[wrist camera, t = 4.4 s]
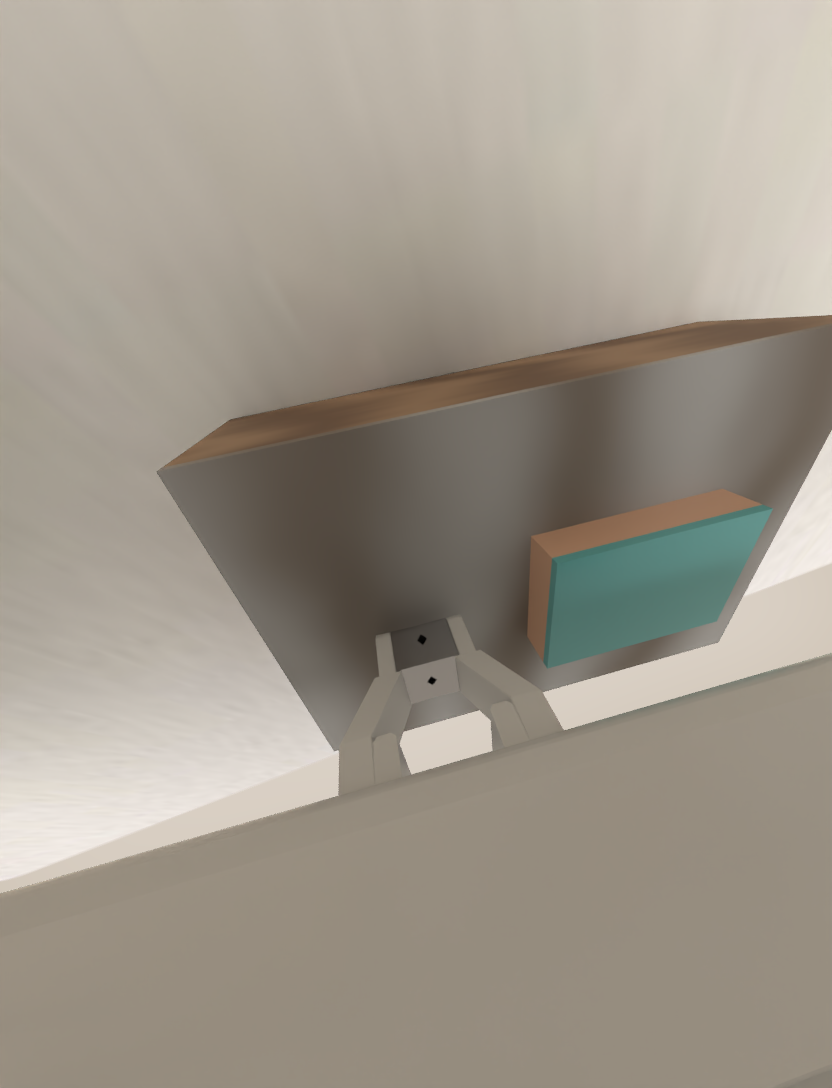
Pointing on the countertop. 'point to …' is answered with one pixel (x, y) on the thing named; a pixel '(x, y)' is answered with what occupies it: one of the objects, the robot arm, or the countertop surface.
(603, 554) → the tile
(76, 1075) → the robot arm
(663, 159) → the countertop surface
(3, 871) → the countertop surface
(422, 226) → the countertop surface
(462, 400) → the board
